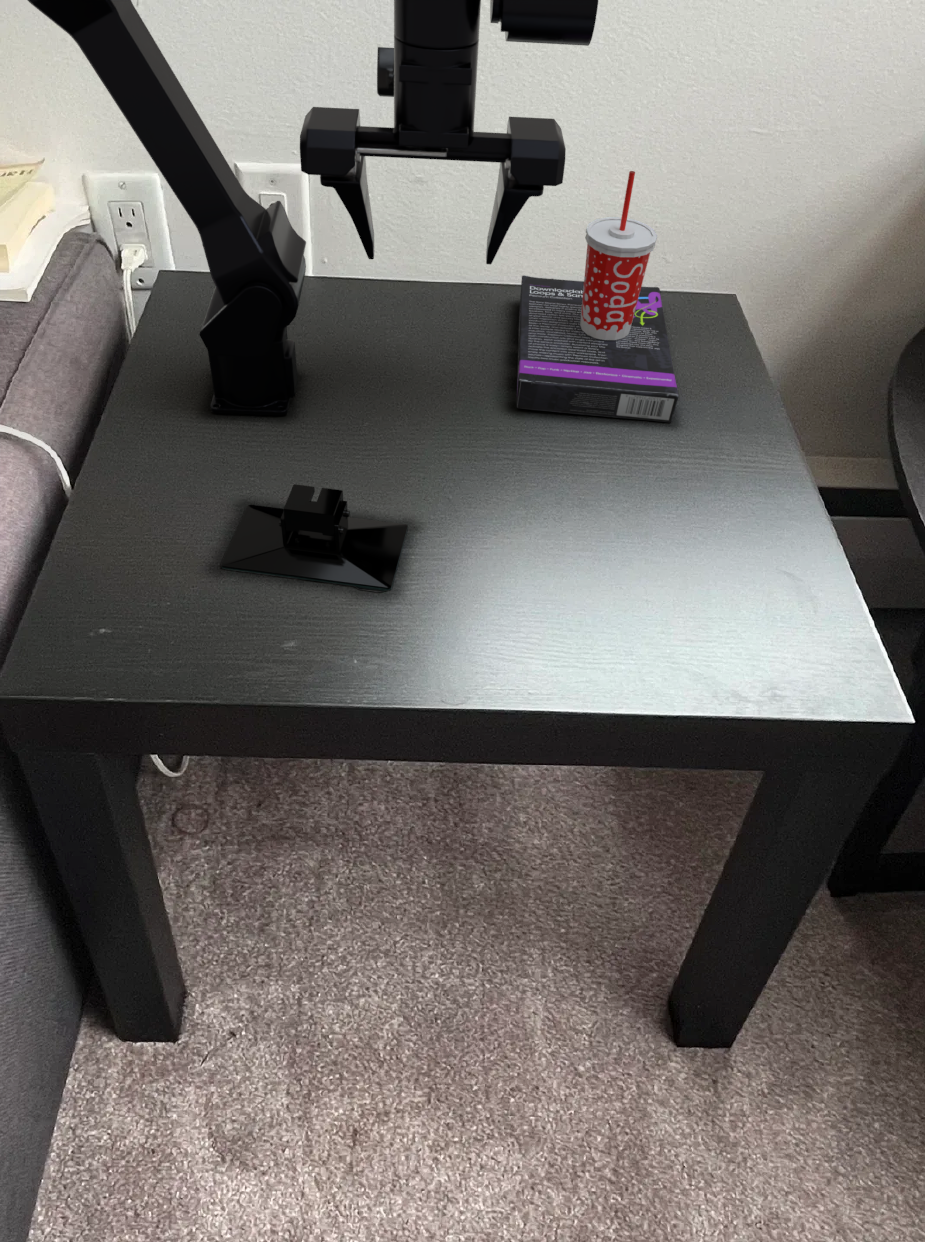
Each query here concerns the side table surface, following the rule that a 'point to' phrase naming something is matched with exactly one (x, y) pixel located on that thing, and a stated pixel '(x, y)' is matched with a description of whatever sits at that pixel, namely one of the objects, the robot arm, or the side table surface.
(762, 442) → the side table surface
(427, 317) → the side table surface
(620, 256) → the beverage cup
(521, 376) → the box
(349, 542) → the build plate
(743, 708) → the side table surface
